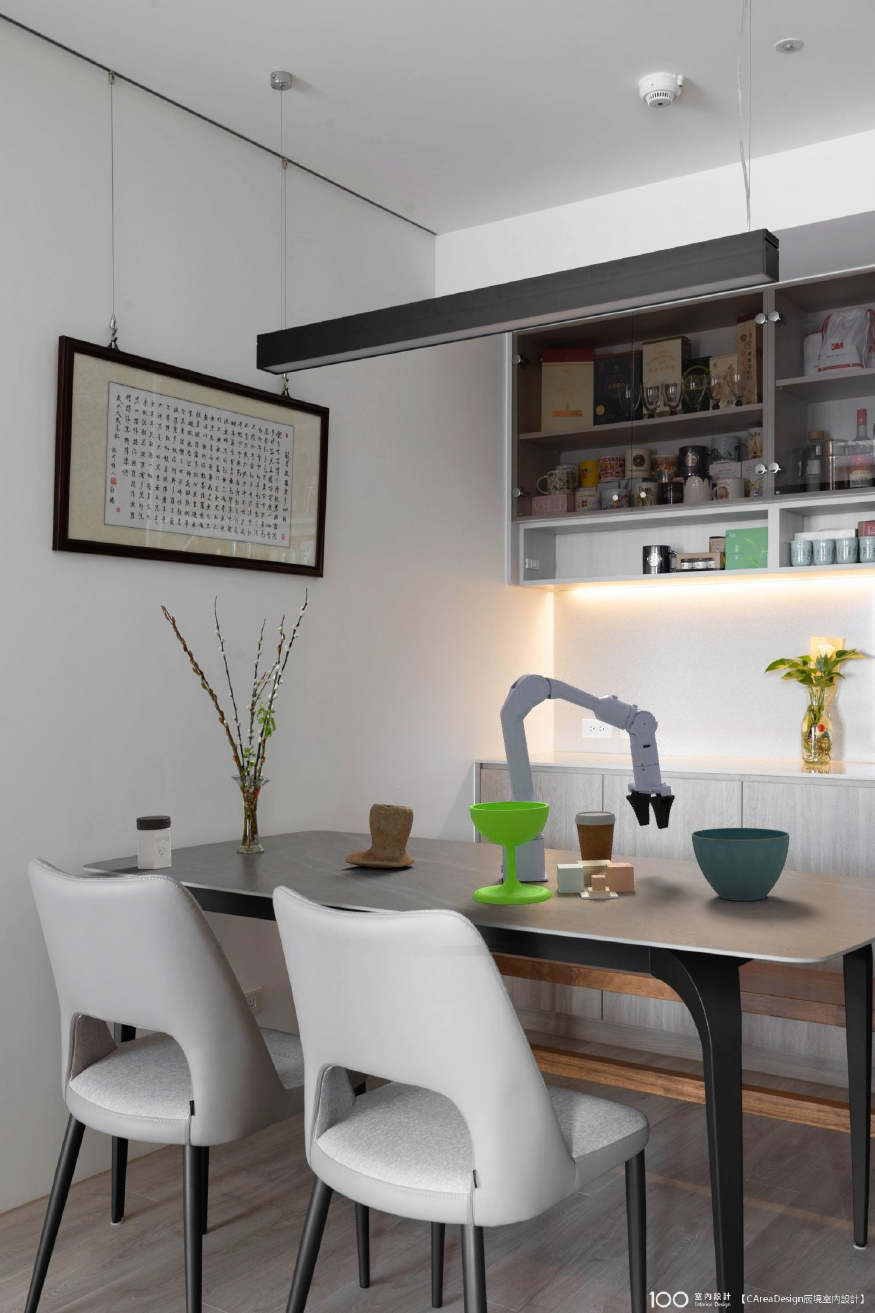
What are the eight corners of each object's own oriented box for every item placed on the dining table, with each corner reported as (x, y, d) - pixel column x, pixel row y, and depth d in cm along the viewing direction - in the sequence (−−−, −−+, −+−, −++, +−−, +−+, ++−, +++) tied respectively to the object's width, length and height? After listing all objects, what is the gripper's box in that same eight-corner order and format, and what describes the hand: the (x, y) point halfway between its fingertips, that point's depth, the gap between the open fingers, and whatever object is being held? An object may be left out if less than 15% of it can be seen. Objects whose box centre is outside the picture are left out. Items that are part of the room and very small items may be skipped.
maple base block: (580, 885, 238) (580, 866, 238) (577, 879, 245) (576, 860, 245) (614, 884, 238) (613, 865, 238) (610, 878, 245) (609, 860, 245)
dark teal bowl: (675, 893, 225) (673, 831, 225) (752, 885, 231) (750, 824, 232) (730, 910, 208) (727, 842, 208) (812, 900, 214) (809, 835, 215)
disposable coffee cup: (605, 871, 253) (603, 816, 253) (567, 868, 259) (566, 814, 259) (625, 864, 260) (623, 812, 261) (588, 861, 266) (587, 810, 266)
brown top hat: (425, 864, 270) (423, 800, 270) (399, 872, 260) (396, 806, 260) (371, 861, 277) (369, 799, 278) (343, 869, 267) (341, 804, 267)
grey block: (559, 893, 230) (558, 868, 230) (557, 888, 235) (556, 864, 235) (584, 892, 229) (583, 867, 229) (582, 888, 234) (581, 863, 234)
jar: (146, 871, 273) (145, 820, 273) (129, 867, 279) (128, 818, 279) (179, 865, 279) (178, 816, 279) (162, 862, 285) (161, 814, 285)
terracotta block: (609, 892, 229) (608, 867, 229) (606, 887, 234) (605, 863, 234) (634, 891, 229) (633, 866, 229) (631, 887, 234) (630, 862, 234)
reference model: (582, 899, 222) (581, 879, 222) (580, 894, 227) (579, 874, 227) (618, 898, 222) (617, 878, 222) (615, 893, 227) (614, 873, 227)
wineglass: (503, 886, 239) (500, 800, 239) (568, 893, 229) (565, 803, 229) (455, 899, 226) (452, 808, 227) (521, 907, 216) (518, 812, 216)
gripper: (680, 763, 244) (688, 826, 243) (644, 761, 257) (651, 821, 257) (651, 768, 241) (659, 832, 241) (616, 765, 255) (624, 826, 254)
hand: (653, 826), depth 249 cm, fingers open, 7 cm apart
